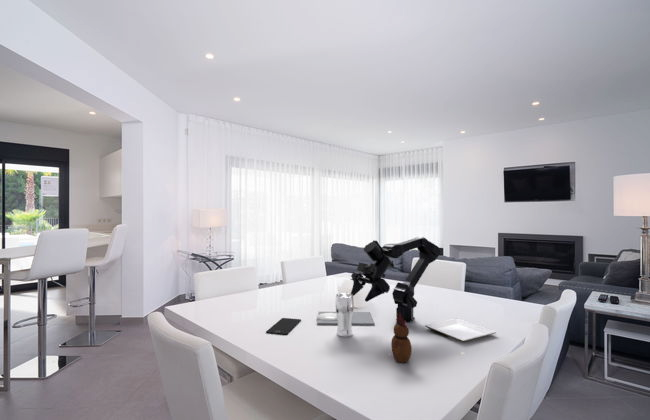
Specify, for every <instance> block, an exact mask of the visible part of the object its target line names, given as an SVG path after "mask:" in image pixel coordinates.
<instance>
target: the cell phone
mask: <svg viewBox="0 0 650 420" xmlns="http://www.w3.org/2000/svg"><path fill="white" fill-rule="evenodd" d="M301 322H302V319H301V318H288V317H281V318H280V319H279V320H278V321H277V322H276V323H274V324H273V325H272V326H271V327H270V328H269V329H267V330H266V331H265V334H269V335H270V334H271V335H278V336H279V335H280V336H288V335H289V334H290V333H291V332H292V331H293V329H295V328H296V327H297V326H298V325H299V324H301Z"/></svg>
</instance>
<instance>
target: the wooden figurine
mask: <svg viewBox="0 0 650 420" xmlns="http://www.w3.org/2000/svg"><path fill="white" fill-rule="evenodd" d="M396 318H397V319H395V320H396V321H395V322H396V324H394V327H393V334H394V335H393V337H392V338H391V343H390V344H391V353H392V357H393V359H394V361H396V362H399V363H400V364H401V363H403V364H404V363H407V362H409V361H410V359H411V355H412V350H413V349H412V343H411V340H410V338H409V337H408V336H409V333H410V331H409V326H408V325H407V324H406V321H403V318H401V314H400V317H399V314H398V311H397V317H396Z"/></svg>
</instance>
